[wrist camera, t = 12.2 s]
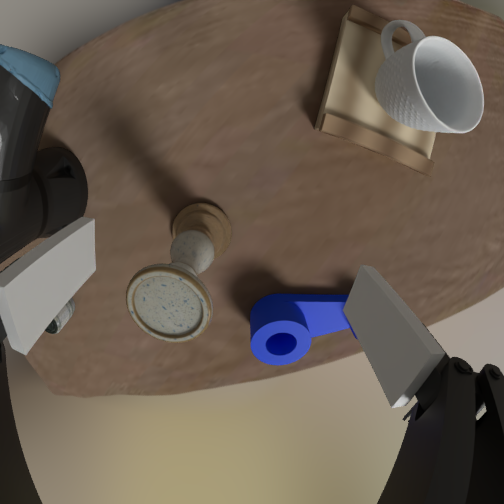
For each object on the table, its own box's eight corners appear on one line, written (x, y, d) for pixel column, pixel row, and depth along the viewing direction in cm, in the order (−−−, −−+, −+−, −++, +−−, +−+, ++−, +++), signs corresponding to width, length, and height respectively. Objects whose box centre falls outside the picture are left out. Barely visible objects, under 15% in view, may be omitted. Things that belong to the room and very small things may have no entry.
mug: (338, 40, 27) (378, 2, 15) (400, 34, 26) (451, 9, 13) (376, 138, 32) (432, 141, 20) (433, 124, 31) (493, 127, 19)
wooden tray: (313, 131, 35) (321, 130, 31) (342, 15, 27) (352, 4, 23) (414, 172, 37) (430, 177, 33) (437, 65, 29) (452, 61, 25)
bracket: (252, 337, 48) (253, 367, 41) (247, 295, 45) (248, 323, 38) (356, 325, 48) (370, 351, 41) (362, 283, 44) (379, 307, 37)
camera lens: (79, 316, 46) (61, 339, 39) (57, 311, 46) (38, 332, 39) (72, 290, 44) (52, 312, 37) (50, 285, 44) (29, 305, 36)
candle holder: (189, 191, 38) (137, 240, 19) (243, 221, 40) (239, 295, 21) (164, 241, 41) (108, 319, 22) (214, 268, 42) (192, 362, 24)
